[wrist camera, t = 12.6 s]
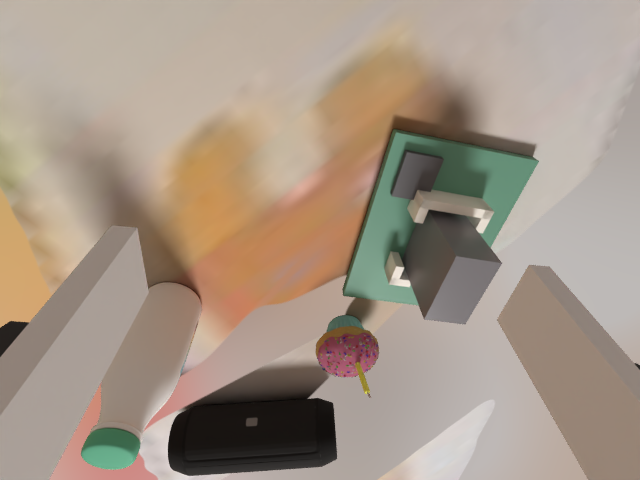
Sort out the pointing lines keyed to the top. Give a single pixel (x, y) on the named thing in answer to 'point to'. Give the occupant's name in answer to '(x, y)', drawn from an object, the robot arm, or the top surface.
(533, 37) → the top surface
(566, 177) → the top surface
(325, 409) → the portable speaker
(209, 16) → the top surface
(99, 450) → the milk bottle
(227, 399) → the top surface
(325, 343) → the cupcake
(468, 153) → the board
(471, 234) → the block
